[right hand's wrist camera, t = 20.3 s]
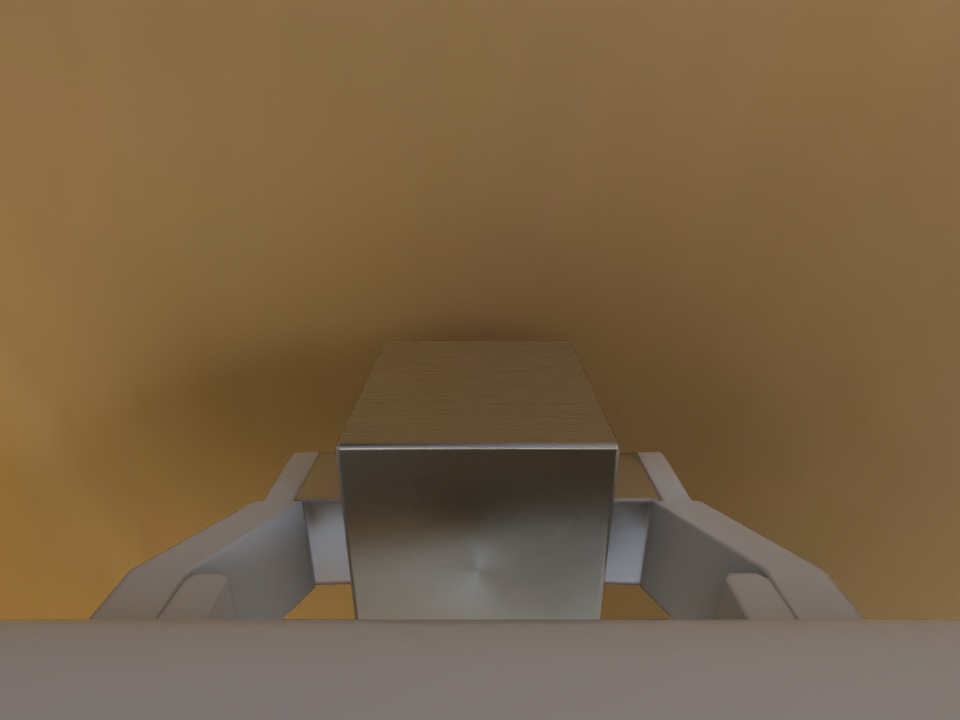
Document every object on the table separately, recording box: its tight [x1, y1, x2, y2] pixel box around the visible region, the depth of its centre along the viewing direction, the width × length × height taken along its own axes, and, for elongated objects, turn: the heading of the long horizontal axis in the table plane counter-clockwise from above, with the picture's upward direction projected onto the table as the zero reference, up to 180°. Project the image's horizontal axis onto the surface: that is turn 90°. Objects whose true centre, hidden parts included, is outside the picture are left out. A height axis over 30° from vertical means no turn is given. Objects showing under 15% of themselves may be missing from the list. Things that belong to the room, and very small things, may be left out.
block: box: [335, 341, 620, 619], centre depth 10 cm, size 4×5×4 cm
